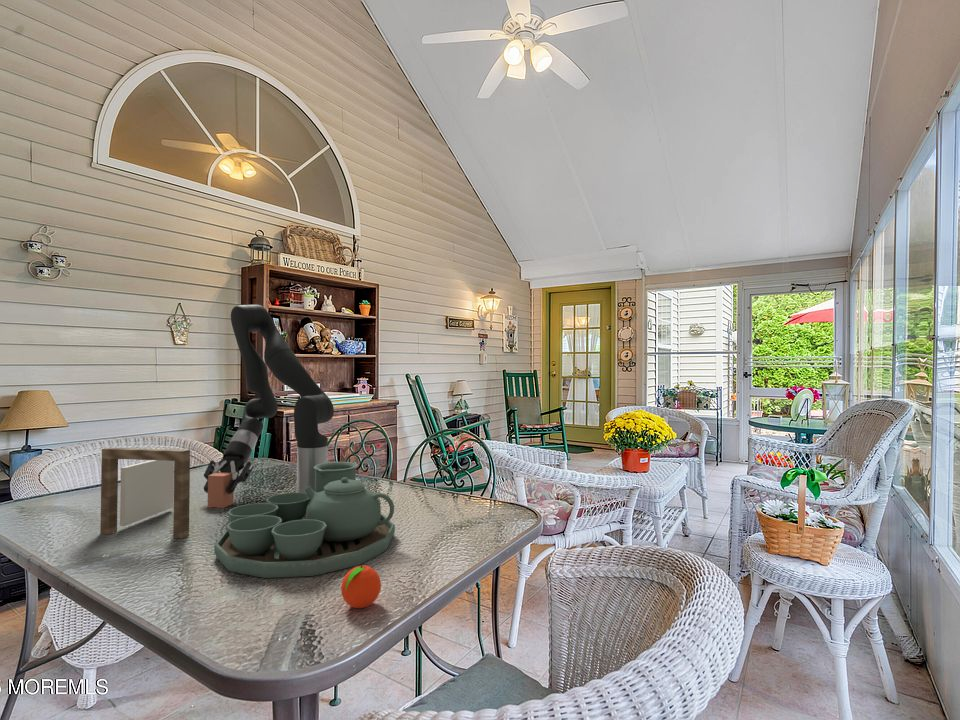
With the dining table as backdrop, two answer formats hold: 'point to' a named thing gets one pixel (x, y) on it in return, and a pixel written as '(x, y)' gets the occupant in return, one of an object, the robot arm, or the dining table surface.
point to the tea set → (308, 528)
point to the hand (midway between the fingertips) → (217, 492)
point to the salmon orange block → (219, 490)
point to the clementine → (361, 586)
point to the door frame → (177, 455)
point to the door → (146, 490)
